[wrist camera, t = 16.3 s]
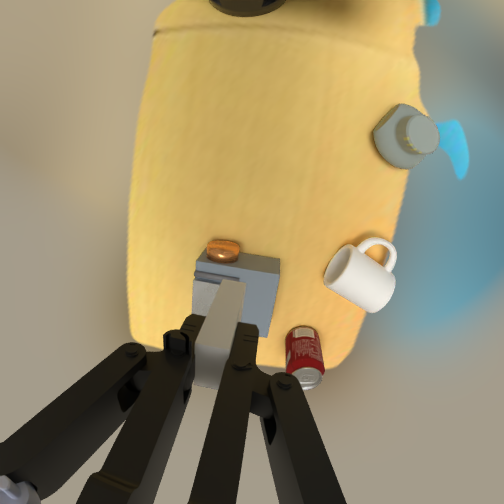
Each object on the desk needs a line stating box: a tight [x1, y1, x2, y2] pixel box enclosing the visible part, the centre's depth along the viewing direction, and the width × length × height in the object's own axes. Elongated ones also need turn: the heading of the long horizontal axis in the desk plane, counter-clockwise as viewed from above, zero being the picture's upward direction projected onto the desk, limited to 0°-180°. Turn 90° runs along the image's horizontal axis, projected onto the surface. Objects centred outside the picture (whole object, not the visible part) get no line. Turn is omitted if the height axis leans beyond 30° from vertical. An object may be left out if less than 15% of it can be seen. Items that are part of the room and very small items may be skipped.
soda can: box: [285, 327, 325, 390], centre depth 48 cm, size 7×7×12 cm
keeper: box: [192, 278, 221, 316], centre depth 45 cm, size 9×7×1 cm
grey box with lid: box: [194, 247, 280, 338], centre depth 48 cm, size 12×13×8 cm
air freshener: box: [373, 104, 440, 169], centre depth 35 cm, size 11×8×10 cm
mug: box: [324, 237, 397, 313], centre depth 44 cm, size 12×10×8 cm
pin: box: [207, 240, 240, 264], centre depth 48 cm, size 16×5×5 cm, turn 172°
